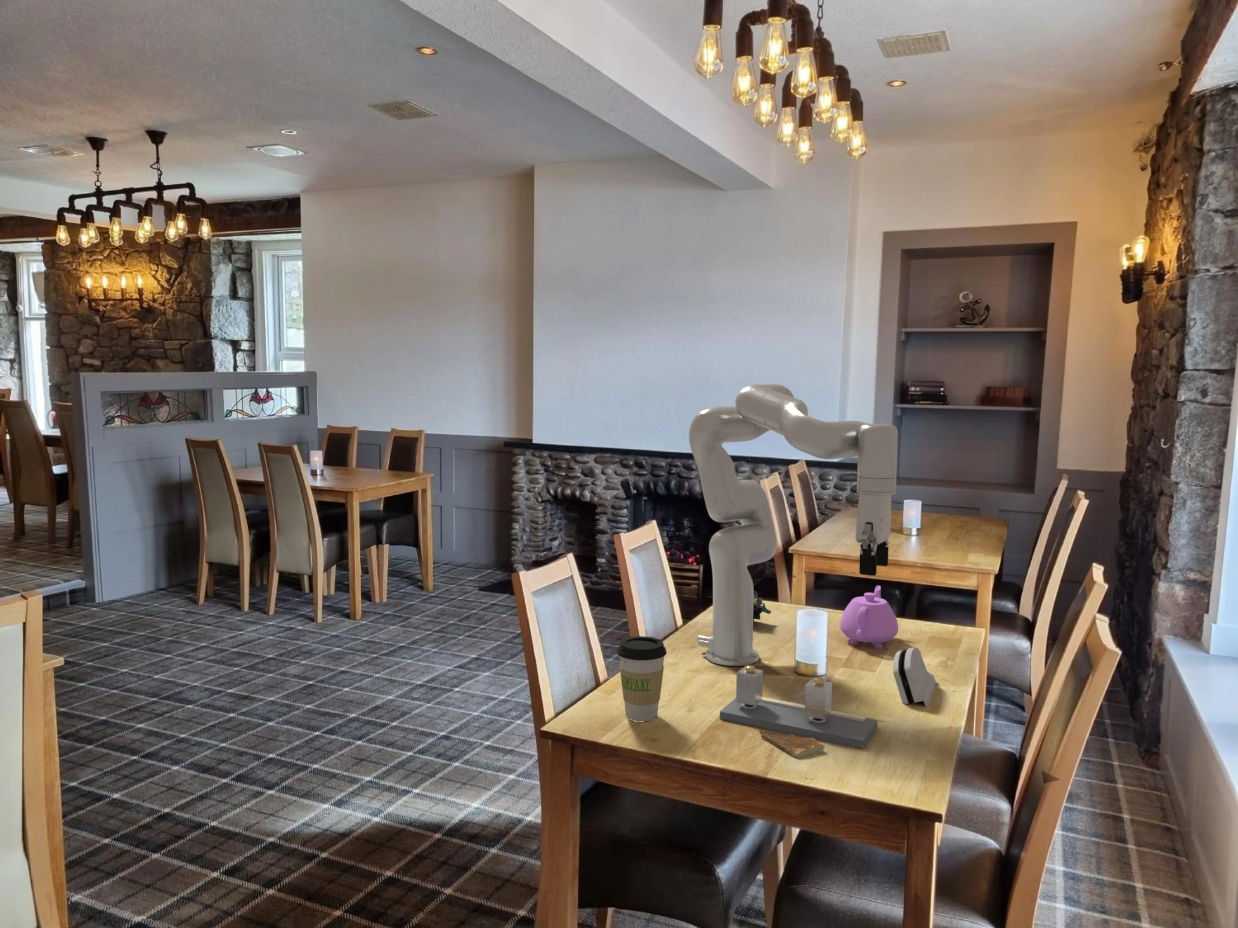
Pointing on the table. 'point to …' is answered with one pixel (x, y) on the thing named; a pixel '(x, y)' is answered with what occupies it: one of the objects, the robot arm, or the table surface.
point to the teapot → (869, 620)
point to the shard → (794, 743)
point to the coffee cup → (641, 676)
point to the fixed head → (749, 685)
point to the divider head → (818, 698)
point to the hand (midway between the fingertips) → (873, 569)
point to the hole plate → (802, 721)
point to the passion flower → (758, 606)
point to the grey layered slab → (913, 677)
